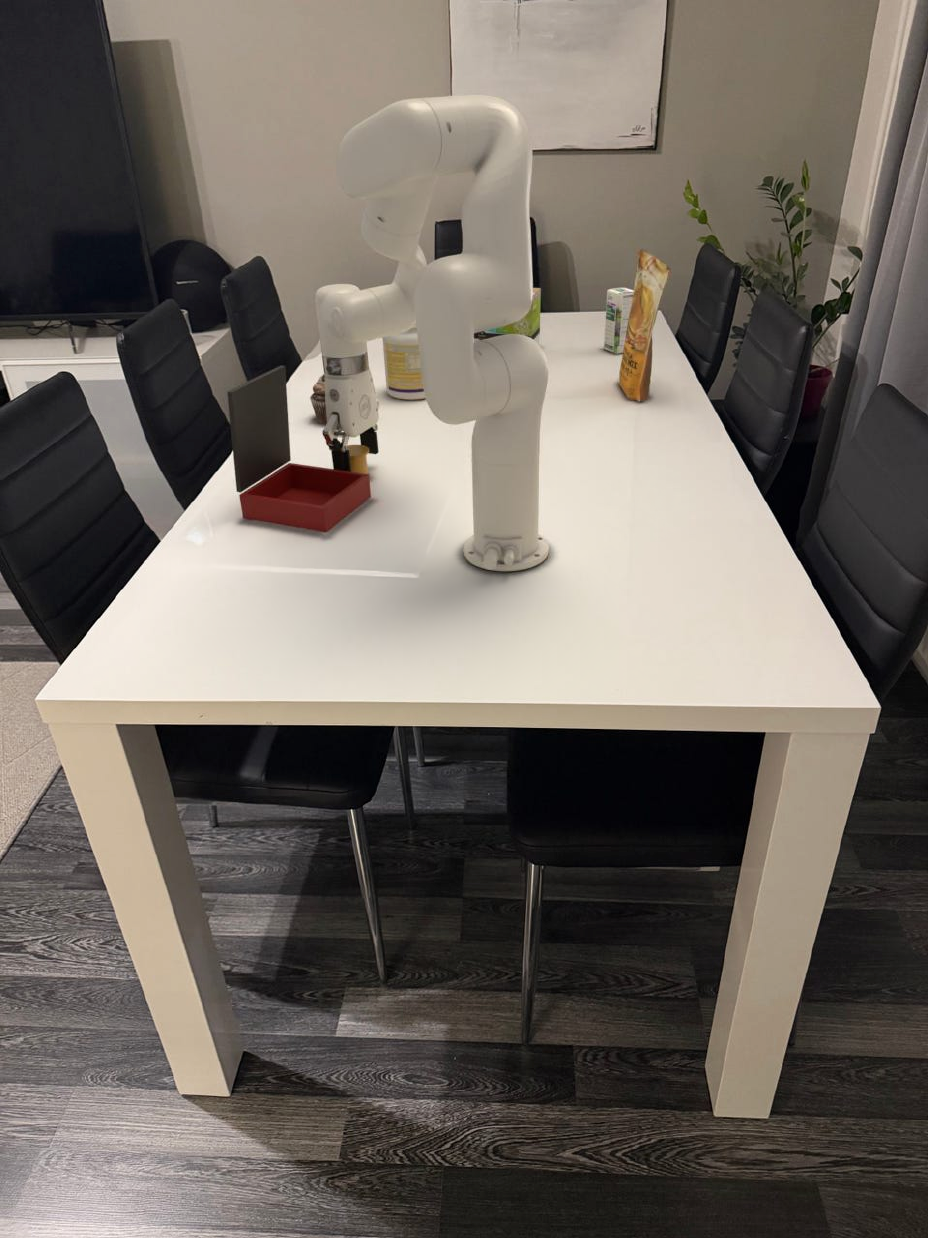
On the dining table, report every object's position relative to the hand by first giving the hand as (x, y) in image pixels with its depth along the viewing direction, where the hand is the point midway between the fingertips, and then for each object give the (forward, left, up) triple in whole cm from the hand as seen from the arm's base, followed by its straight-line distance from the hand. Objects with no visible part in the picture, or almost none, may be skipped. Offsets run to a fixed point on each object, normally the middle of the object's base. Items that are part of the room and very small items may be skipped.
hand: (356, 462), depth 161 cm
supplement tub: (+50, 0, -4) cm, 51 cm away
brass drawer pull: (+1, +1, -3) cm, 4 cm away
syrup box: (+87, -45, -4) cm, 98 cm away
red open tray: (-14, +5, -3) cm, 15 cm away
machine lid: (-12, +11, +10) cm, 19 cm away
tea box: (+86, -17, -4) cm, 88 cm away
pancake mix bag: (+54, -49, -4) cm, 73 cm away
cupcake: (+32, +13, -4) cm, 35 cm away
